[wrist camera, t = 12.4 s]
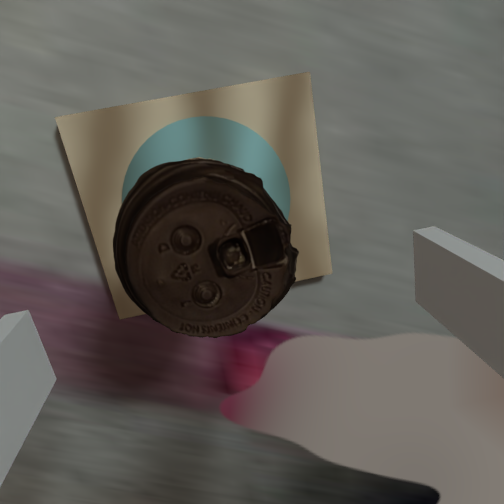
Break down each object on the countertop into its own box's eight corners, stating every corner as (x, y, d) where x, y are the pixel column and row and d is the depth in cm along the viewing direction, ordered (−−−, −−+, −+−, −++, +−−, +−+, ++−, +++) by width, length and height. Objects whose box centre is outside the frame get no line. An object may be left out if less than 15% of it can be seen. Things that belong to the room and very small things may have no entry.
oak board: (305, 73, 29) (310, 71, 28) (327, 268, 34) (333, 274, 33) (60, 116, 28) (53, 117, 26) (122, 312, 33) (119, 320, 31)
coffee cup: (280, 169, 29) (343, 211, 17) (238, 272, 31) (268, 374, 19) (161, 122, 27) (137, 132, 15) (125, 236, 29) (78, 324, 17)
